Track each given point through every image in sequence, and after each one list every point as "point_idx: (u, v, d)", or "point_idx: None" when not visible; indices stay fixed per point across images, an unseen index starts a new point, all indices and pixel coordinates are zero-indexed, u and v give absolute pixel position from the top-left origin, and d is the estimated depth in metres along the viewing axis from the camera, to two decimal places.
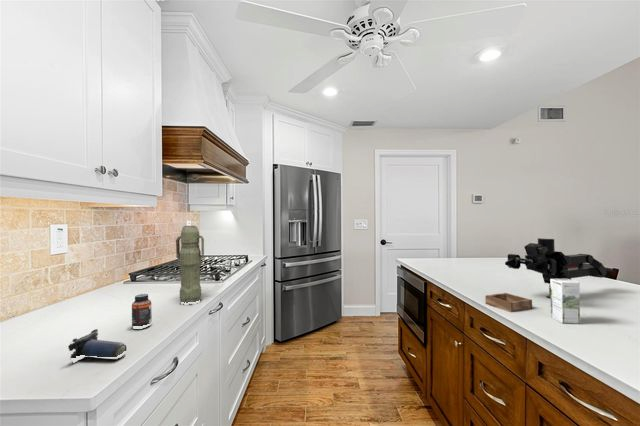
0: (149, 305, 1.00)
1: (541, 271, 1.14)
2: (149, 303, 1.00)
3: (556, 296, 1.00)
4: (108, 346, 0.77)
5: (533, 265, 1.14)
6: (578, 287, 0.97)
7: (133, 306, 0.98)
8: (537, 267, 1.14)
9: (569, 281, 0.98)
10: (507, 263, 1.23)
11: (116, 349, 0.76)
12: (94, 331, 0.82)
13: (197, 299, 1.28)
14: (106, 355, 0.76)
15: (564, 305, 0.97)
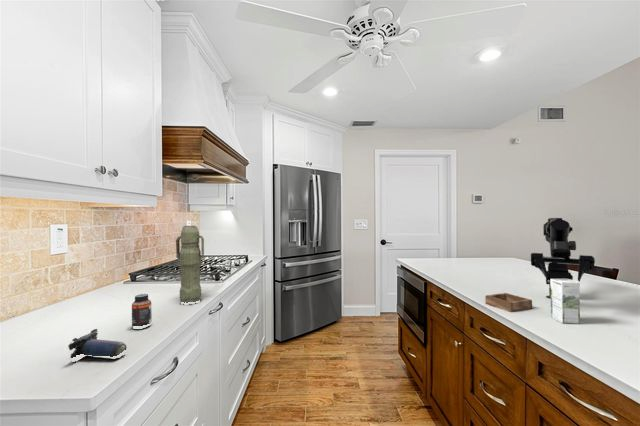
0: (149, 305, 1.00)
1: (583, 271, 1.06)
2: (149, 303, 1.00)
3: (556, 296, 1.00)
4: (108, 346, 0.77)
5: (581, 274, 1.03)
6: (578, 287, 0.97)
7: (133, 306, 0.98)
8: None
9: (569, 281, 0.98)
10: (547, 275, 1.09)
11: (117, 349, 0.77)
12: (94, 331, 0.82)
13: (197, 299, 1.28)
14: (106, 354, 0.76)
15: (564, 305, 0.97)
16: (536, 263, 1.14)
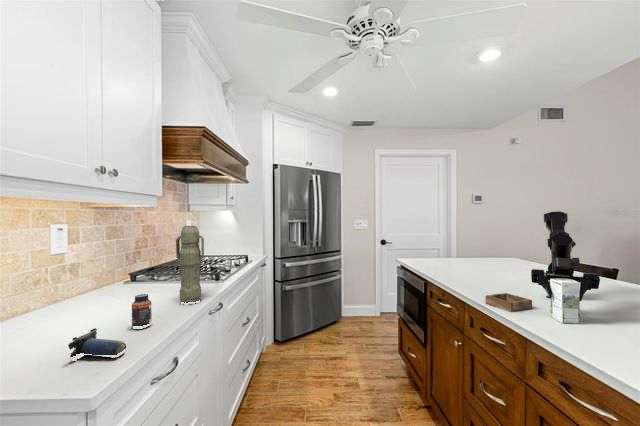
0: (149, 305, 1.00)
1: (585, 290, 0.99)
2: (149, 303, 1.00)
3: (556, 296, 1.00)
4: (108, 345, 0.78)
5: (583, 293, 0.97)
6: (578, 287, 0.97)
7: (133, 306, 0.98)
8: None
9: (569, 281, 0.98)
10: None
11: (116, 348, 0.77)
12: (93, 330, 0.82)
13: (197, 299, 1.28)
14: (106, 353, 0.77)
15: (564, 305, 0.97)
16: (539, 280, 1.06)
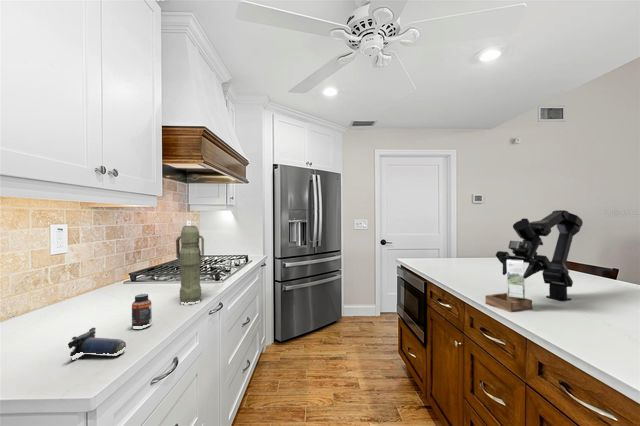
0: (149, 305, 1.00)
1: (537, 270, 1.10)
2: (149, 303, 1.00)
3: None
4: (108, 343, 0.78)
5: (528, 272, 1.09)
6: (522, 266, 1.10)
7: (133, 306, 0.98)
8: (532, 270, 1.09)
9: (516, 261, 1.12)
10: (504, 272, 1.16)
11: (117, 346, 0.78)
12: (92, 329, 0.83)
13: (197, 299, 1.28)
14: (106, 352, 0.78)
15: (509, 281, 1.12)
16: None
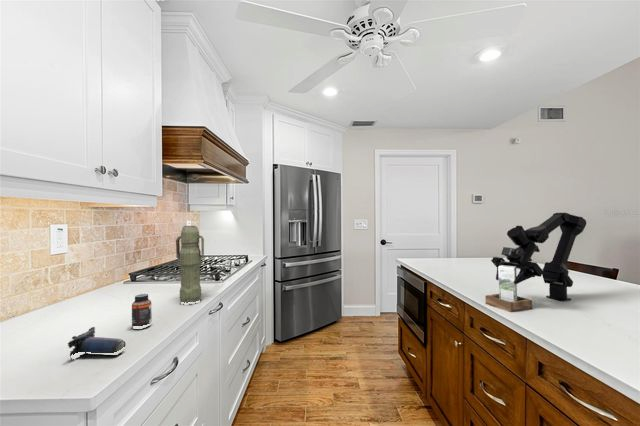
0: (149, 305, 1.00)
1: (528, 277, 1.13)
2: (149, 303, 1.00)
3: None
4: (108, 343, 0.79)
5: (519, 278, 1.12)
6: (513, 272, 1.13)
7: (133, 306, 0.98)
8: (523, 276, 1.13)
9: (507, 267, 1.15)
10: (498, 278, 1.20)
11: (116, 345, 0.79)
12: (92, 329, 0.83)
13: (197, 299, 1.28)
14: (106, 351, 0.78)
15: (500, 286, 1.16)
16: None
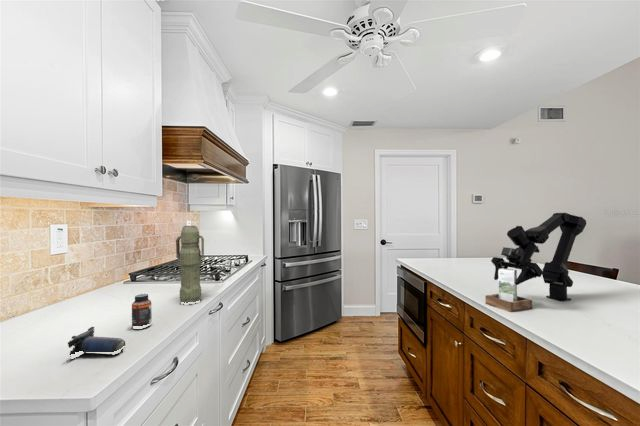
0: (149, 305, 1.00)
1: (529, 277, 1.12)
2: (149, 303, 1.00)
3: None
4: (108, 342, 0.79)
5: (520, 279, 1.12)
6: (513, 276, 1.13)
7: (133, 306, 0.98)
8: (524, 277, 1.12)
9: (507, 270, 1.15)
10: (496, 277, 1.21)
11: (116, 345, 0.79)
12: (91, 328, 0.84)
13: (197, 299, 1.28)
14: (106, 350, 0.79)
15: (500, 289, 1.16)
16: None
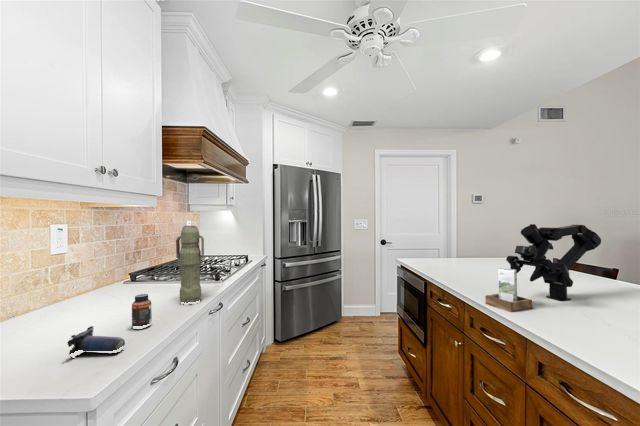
0: (149, 305, 1.00)
1: (544, 274, 1.15)
2: (149, 303, 1.00)
3: None
4: (108, 341, 0.80)
5: (534, 275, 1.15)
6: (513, 276, 1.13)
7: (133, 306, 0.98)
8: (538, 273, 1.15)
9: (507, 270, 1.15)
10: None
11: (116, 343, 0.80)
12: (90, 328, 0.84)
13: (197, 299, 1.28)
14: (106, 349, 0.79)
15: (500, 289, 1.16)
16: None
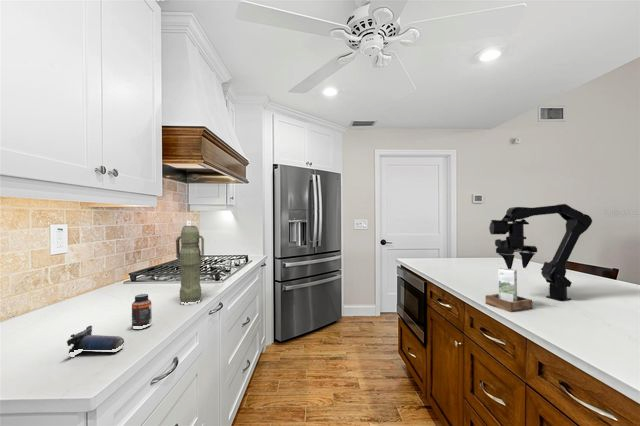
0: (149, 305, 1.00)
1: (510, 257, 1.26)
2: (149, 303, 1.00)
3: None
4: (107, 340, 0.81)
5: (506, 263, 1.28)
6: (513, 276, 1.13)
7: (133, 306, 0.98)
8: (508, 260, 1.27)
9: (507, 270, 1.15)
10: (524, 265, 1.31)
11: (116, 342, 0.81)
12: (89, 327, 0.85)
13: (197, 299, 1.28)
14: (105, 348, 0.80)
15: (500, 289, 1.16)
16: None
